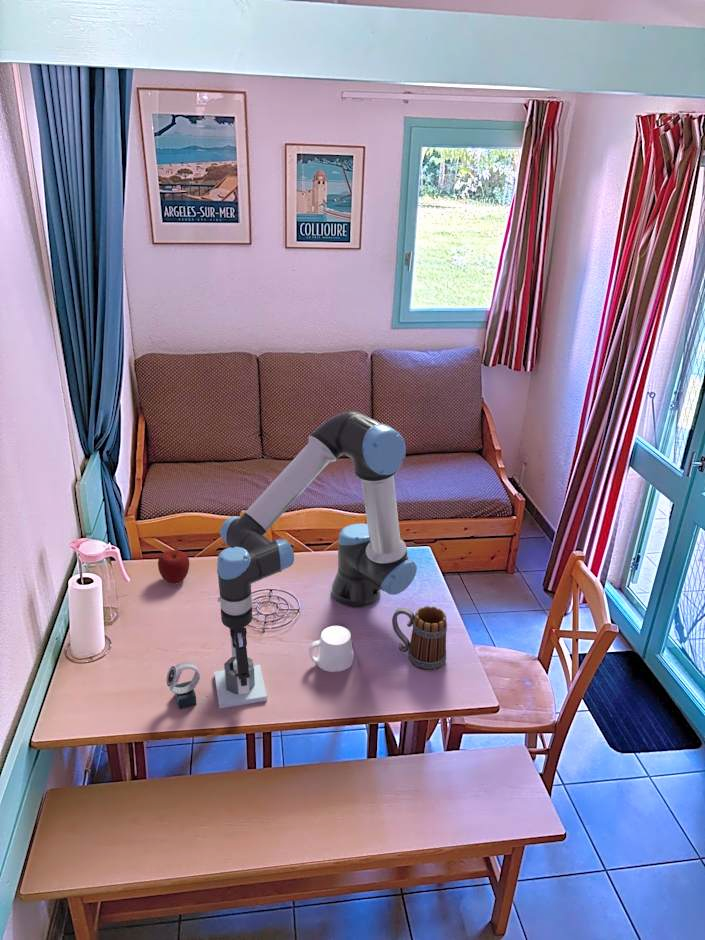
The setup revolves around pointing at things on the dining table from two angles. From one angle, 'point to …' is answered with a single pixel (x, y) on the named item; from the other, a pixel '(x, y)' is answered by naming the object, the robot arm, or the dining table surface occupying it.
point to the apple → (173, 566)
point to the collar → (232, 680)
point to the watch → (183, 684)
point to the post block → (233, 699)
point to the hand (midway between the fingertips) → (240, 673)
